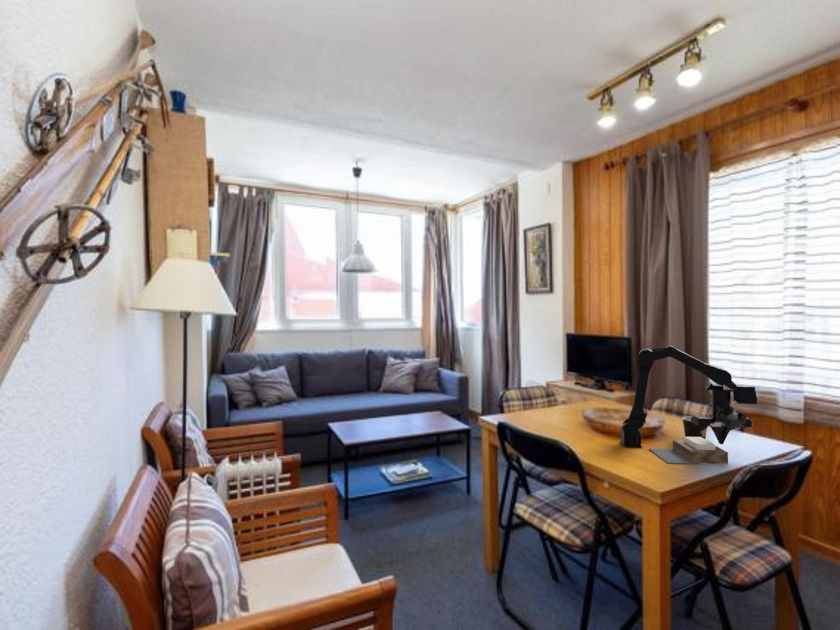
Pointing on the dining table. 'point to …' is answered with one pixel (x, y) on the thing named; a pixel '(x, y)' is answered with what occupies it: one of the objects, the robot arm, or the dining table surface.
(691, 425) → the coffee mug
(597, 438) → the dining table surface
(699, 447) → the ceramic tile
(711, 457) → the block
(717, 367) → the robot arm
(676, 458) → the charcoal mat
